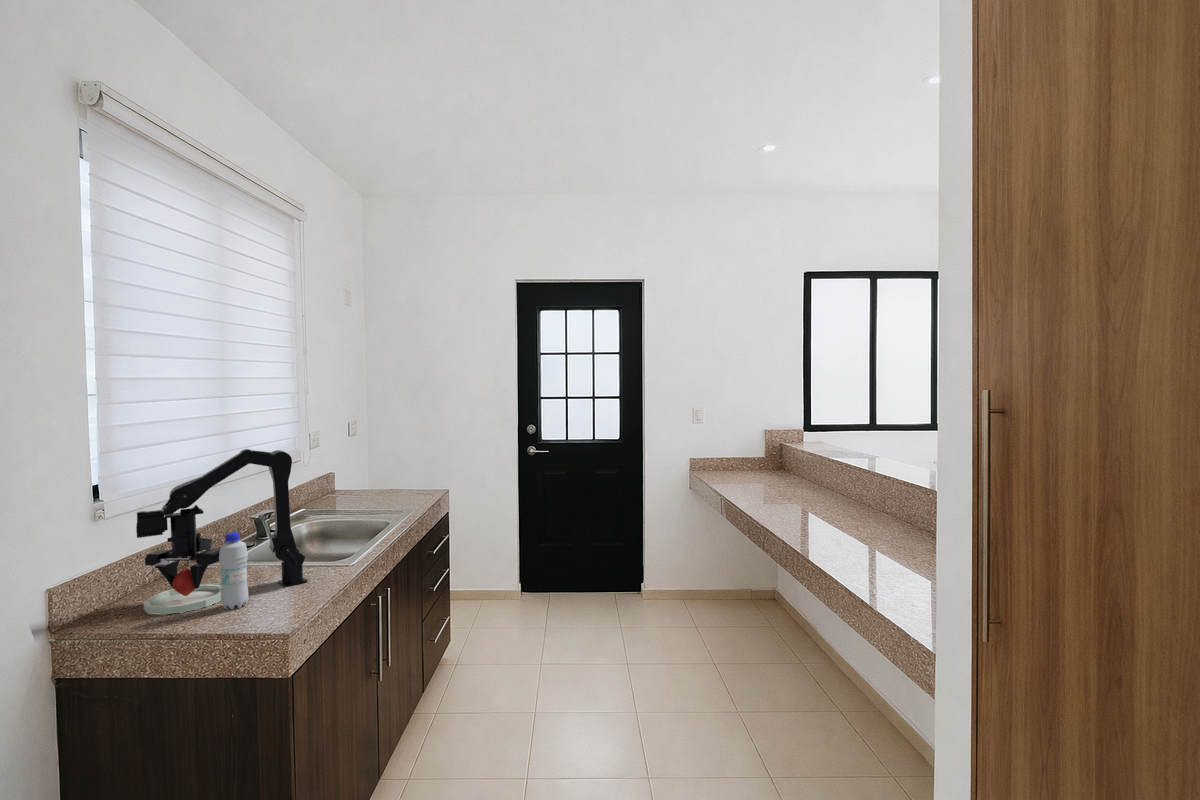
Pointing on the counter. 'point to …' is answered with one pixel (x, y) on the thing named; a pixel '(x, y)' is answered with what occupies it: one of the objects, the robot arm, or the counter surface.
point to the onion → (183, 582)
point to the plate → (183, 600)
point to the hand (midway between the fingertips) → (186, 588)
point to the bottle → (233, 571)
